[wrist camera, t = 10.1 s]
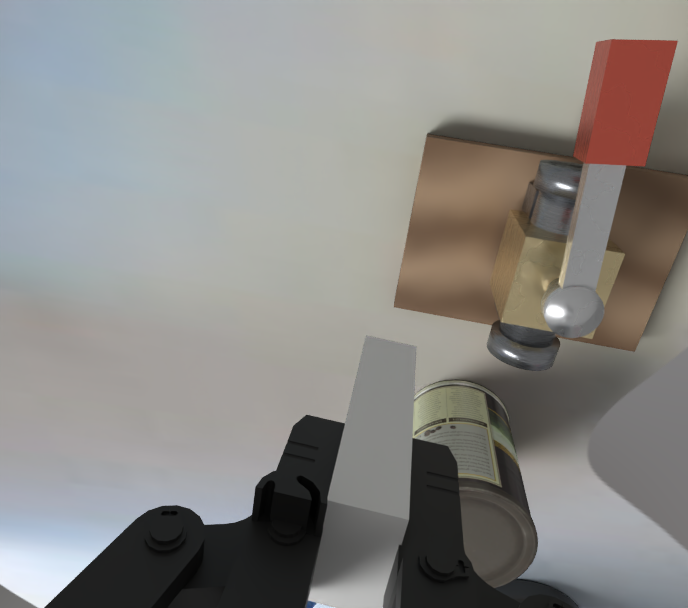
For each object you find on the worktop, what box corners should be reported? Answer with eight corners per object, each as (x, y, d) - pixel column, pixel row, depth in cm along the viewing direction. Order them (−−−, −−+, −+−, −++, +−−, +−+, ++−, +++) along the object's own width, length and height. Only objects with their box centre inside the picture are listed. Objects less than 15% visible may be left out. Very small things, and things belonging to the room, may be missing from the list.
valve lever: (589, 328, 32) (601, 346, 30) (535, 323, 32) (543, 341, 30) (660, 43, 25) (682, 40, 23) (592, 41, 26) (607, 39, 24)
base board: (626, 340, 44) (634, 351, 43) (395, 297, 46) (393, 306, 44) (695, 176, 38) (708, 181, 37) (427, 133, 40) (427, 136, 38)
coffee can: (532, 410, 49) (569, 531, 36) (471, 481, 53) (484, 611, 40) (436, 360, 48) (439, 465, 35) (382, 435, 52) (368, 553, 40)
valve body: (548, 335, 43) (580, 406, 34) (476, 322, 44) (488, 388, 35) (607, 165, 37) (664, 196, 28) (522, 152, 38) (552, 178, 29)
